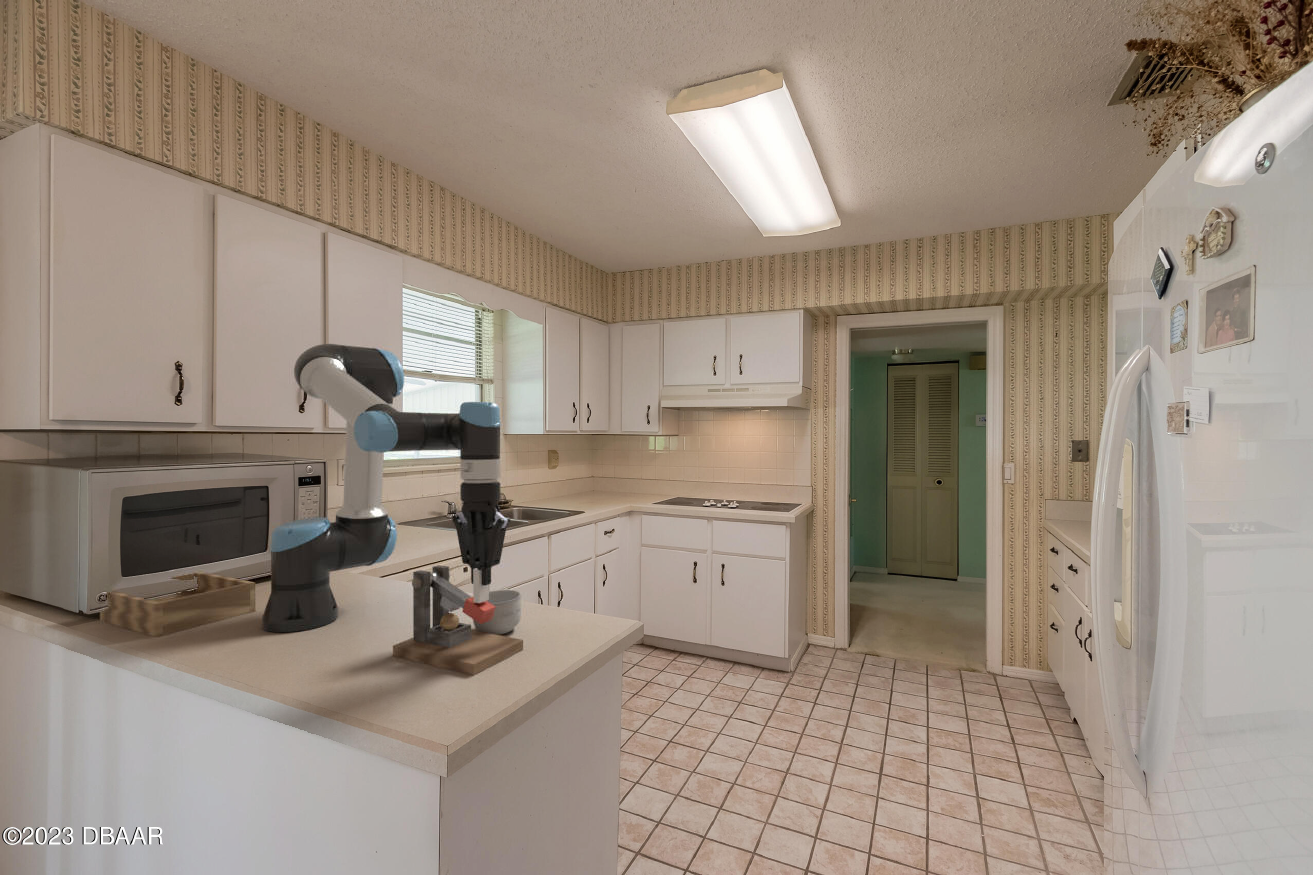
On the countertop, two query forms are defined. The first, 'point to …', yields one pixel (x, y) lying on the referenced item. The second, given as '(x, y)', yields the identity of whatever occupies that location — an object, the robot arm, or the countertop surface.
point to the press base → (449, 635)
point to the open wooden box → (182, 606)
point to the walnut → (449, 622)
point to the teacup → (502, 612)
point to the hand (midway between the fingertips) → (481, 600)
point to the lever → (460, 600)
